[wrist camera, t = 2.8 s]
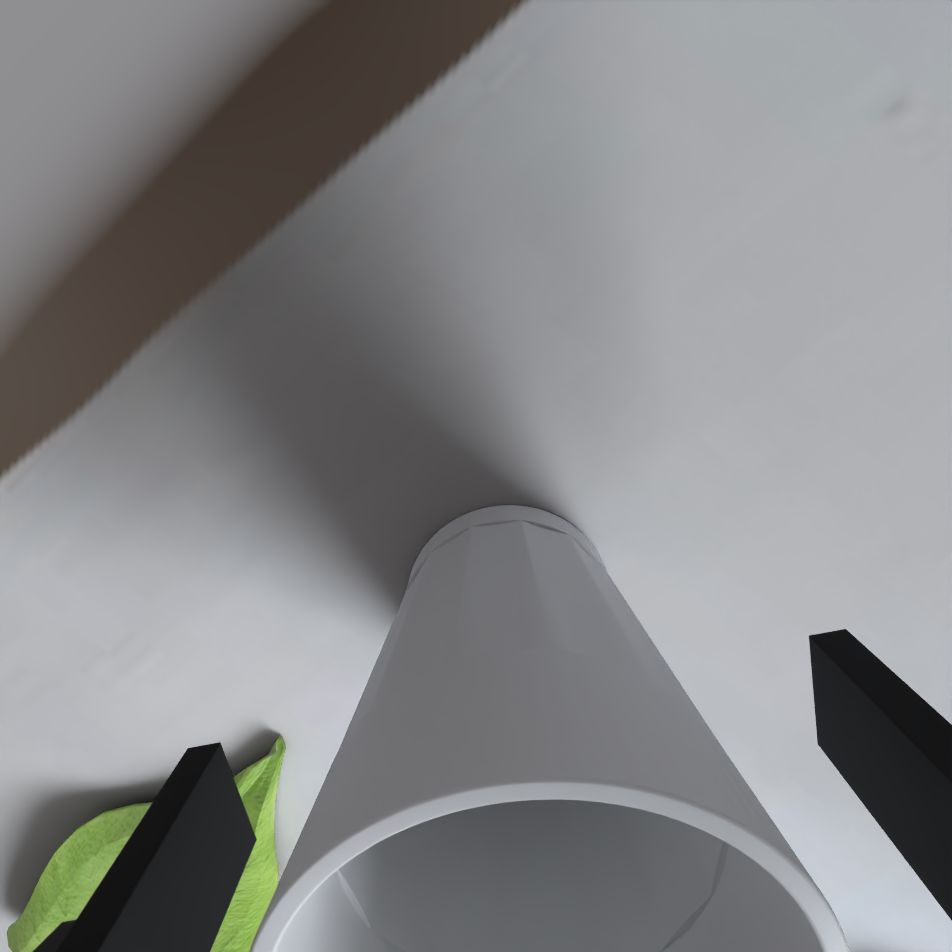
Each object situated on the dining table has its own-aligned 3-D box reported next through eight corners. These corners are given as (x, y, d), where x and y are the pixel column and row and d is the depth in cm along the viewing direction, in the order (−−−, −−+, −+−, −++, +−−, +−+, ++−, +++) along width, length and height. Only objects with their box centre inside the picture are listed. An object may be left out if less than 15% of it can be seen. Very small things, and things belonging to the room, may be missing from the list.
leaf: (-45, 935, 24) (-91, 992, 22) (220, 687, 21) (194, 728, 19) (142, 1056, 26) (115, 1118, 24) (413, 843, 23) (406, 894, 21)
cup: (327, 589, 20) (112, 1007, 8) (523, 423, 18) (597, 650, 7) (495, 752, 21) (512, 1290, 10) (687, 611, 20) (973, 1054, 8)
